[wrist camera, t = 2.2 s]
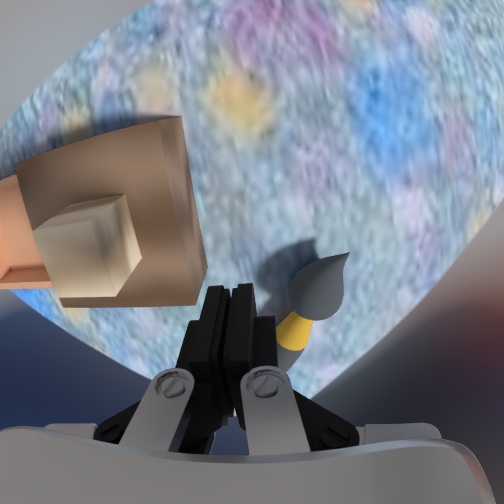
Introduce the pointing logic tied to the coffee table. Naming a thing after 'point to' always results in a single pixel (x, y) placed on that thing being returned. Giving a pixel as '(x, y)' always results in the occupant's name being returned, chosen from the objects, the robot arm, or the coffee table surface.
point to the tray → (18, 242)
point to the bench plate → (129, 206)
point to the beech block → (89, 248)
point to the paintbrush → (309, 305)
